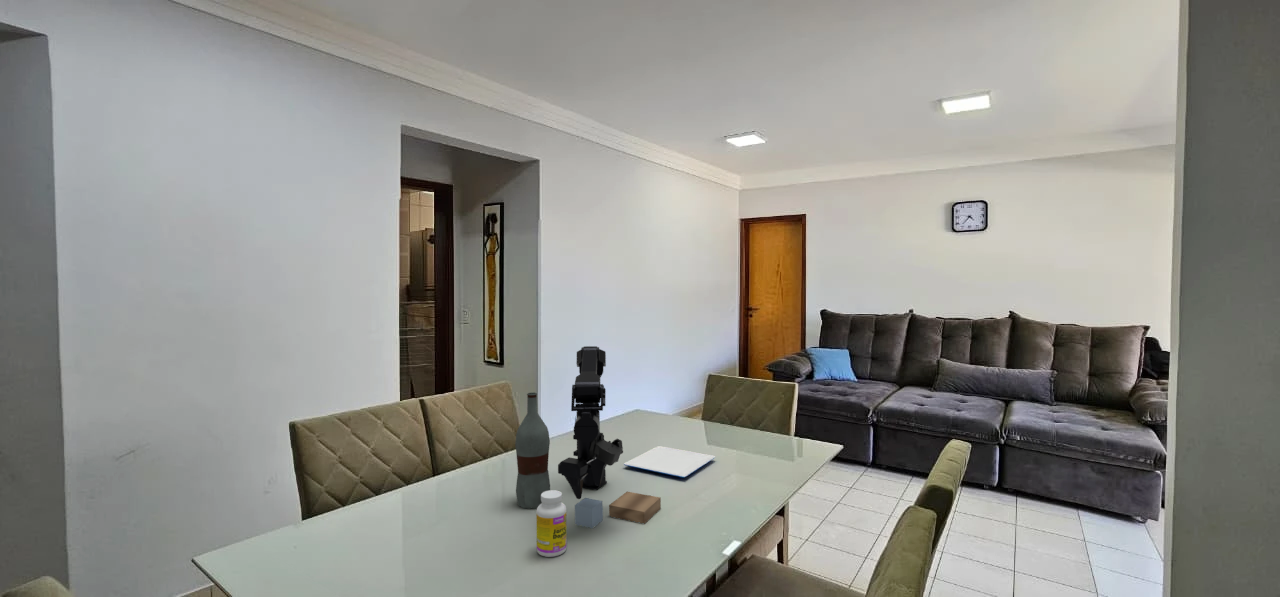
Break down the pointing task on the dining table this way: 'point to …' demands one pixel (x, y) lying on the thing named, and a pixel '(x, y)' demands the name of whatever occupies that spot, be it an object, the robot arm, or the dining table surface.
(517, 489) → the grey bottle
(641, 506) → the base
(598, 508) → the cube
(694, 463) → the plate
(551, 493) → the supplement bottle
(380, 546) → the dining table surface
